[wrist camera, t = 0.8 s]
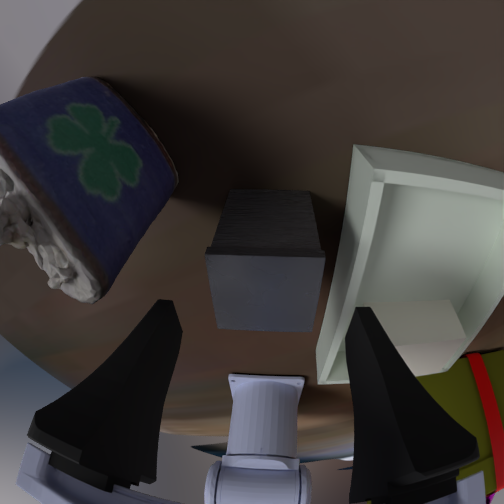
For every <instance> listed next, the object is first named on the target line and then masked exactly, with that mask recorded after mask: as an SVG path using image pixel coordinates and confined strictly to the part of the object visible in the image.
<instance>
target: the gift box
mask: <svg viewBox="0 0 504 504" xmlns="http://www.w3.org/2000/svg"><path fill="white" fill-rule="evenodd" d="M416 378H417V379H418V381H419V382H420V383H421V384H422V386H423V387H424V388H425V389H426V390H427V392H428V393H429V394H430V395H431V396H432V397H433V399H434V400H435V401H436V402H437V403H438V404H439V405H440V406H441V407H442V408H443V409H444V410H445V411H446V412H447V413H448V414H449V415H450V416H451V417H452V418H453V419H454V420H455V421H456V422H458V423H459V424H460V425H461V426H462V427H464V428H465V429H466V430H467V431H469V432H470V433H471V434H472V435H474V436H475V437H476V438H477V442H478V447H479V454H480V457H479V459H478V460H476V461H474V462H472V463H470V464H468V465H465V466H463V467H461V468H459V473H460V474H459V476H457V477H456V481H457V480H461V479H463V478H466V477H468V476H470V475H472V474H475V473H477V472H480V471H483V474H484V483H485V495H486V504H490V503H491V501H492V499H493V497H494V495H495V493H496V492H497V491H499V490H501V489H503V488H504V350H500V351H496V352H491V353H487V354H482V355H480V353H478V352H477V353H471V354H466V355H464V356H463V357H462V358H460V359H457V360H456V362H455V363H454V364H453V365H452V366H451V367H450V369H449V370H448V371H446V372H441V373H435V374H429V375H423V376H416ZM367 504H371V501H367Z"/></svg>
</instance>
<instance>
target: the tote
mask: <svg viewBox="0 0 504 504" xmlns="http://www.w3.org/2000/svg"><path fill="white" fill-rule="evenodd" d="M503 295H504V172H500V171H497V170H493V169H490V168H486V167H482V166H478V165H474V164H470V163H466V162H462V161H457V160H452V159H448V158H443V157H438V156H433V155H427V154H422V153H416V152H410V151H403V150H396V149H389V148H382V147H374V146H365V145H355V144H353V153H352V162H351V170H350V178H349V186H348V193H347V200H346V207H345V214H344V220H343V226H342V232H341V238H340V243H339V249H338V254H337V260H336V265H335V270H334V275H333V280H332V284H331V289H330V294H329V298H328V303H327V307H326V311H325V315H324V320H323V324H322V328H321V332H320V336H319V340H318V344H317V347H316V361H317V379H318V384H342V383H350V382H349V375H348V369H347V363H346V351H345V336H346V333H347V330H348V328H349V325H350V322H351V319H352V316H353V313H354V310H355V307H362V306H363V303H364V302H405V301H431V300H450V301H451V303H452V305H453V308H454V310H455V312H456V314H457V316H458V319H459V321H460V323H461V325H462V328H463V330H464V332H465V335H466V337H467V338H466V339H465V341H464V342H463V343H462V345H461V346H460V347H459V349H458V350H457V351H456V352H455V354H454V355H453V356H452V357H451V359H450V360H449V361H448V362H447V363H446V365H445V366H444V367H443V368H442V369H441V370H440V372H439V373H441V372H446V371H448V370H449V369H450V367H451V366H452V365H453V364H454V363H455V362H456V360H457V359H458V358H459V357H460V356H461V354H462V353H463V352H464V351H465V349H466V348H467V347H468V346H469V344H470V343H471V342H472V340H473V339H474V338H475V336H476V335H477V334H478V332H479V331H480V330H481V328H482V327H483V325H484V324H485V323H486V321H487V320H488V318H489V317H490V315H491V314H492V312H493V311H494V309H495V308H496V306H497V305H498V303H499V301H500V300H501V298H502V297H503ZM433 374H435V373H433ZM427 375H429V374H427ZM420 376H423V375H420ZM415 377H416V376H415Z"/></svg>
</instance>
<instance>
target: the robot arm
mask: <svg viewBox="0 0 504 504" xmlns="http://www.w3.org/2000/svg"><path fill="white" fill-rule="evenodd" d="M182 332H183V331H182V328H181V325H180V322H179V319H178V316H177V313H176V310H175V307H174V304H173V301H172V300H161V299H159V300H157V302H156V303H155V304H154V305H153V306H152V308H151V309H150V310H149V311H148V313H147V314H146V315H145V316H144V318H143V319H142V320H141V321H140V322H139V324H138V325H137V326H136V327H135V328H134V330H133V331H132V332H131V333H130V334H129V336H128V337H127V338H126V339H125V340H124V341H123V342H122V344H121V345H120V346H119V347H118V348H117V349H116V350H115V351H114V352H113V353H112V354H111V355H110V357H109V358H108V359H107V360H106V361H105V362H104V363H103V364H101V365H100V366H99V367H98V368H97V369H96V370H95V371H94V372H93V373H92V374H90V375H89V376H88V377H87V378H86V379H85V380H83V381H82V382H81V383H80V384H78V385H77V386H76V387H74V388H73V389H72V390H70V391H69V392H67V393H66V394H65V395H63V396H62V397H60V398H59V399H57V400H56V401H54V402H52V403H50V404H49V405H47V406H45V407H43V408H42V409H40V410H38V411H36V413H35V415H34V418H33V420H32V423H31V426H30V428H29V431H28V434H27V436H28V437H29V438H30V439H32V440H33V441H35V442H37V443H39V444H40V445H42V446H44V447H46V448H47V449H49V450H51V451H52V452H51V454H48V453H46V452H45V451H43V450H41V449H40V448H38V447H36V446H34V445H32V444H31V443H27V446H26V449H25V452H24V455H23V458H22V462H21V465H20V469H19V473H18V477H17V481H16V485H17V486H18V487H20V488H21V489H23V490H24V491H25V492H27V493H28V494H29V495H31V496H32V497H33V498H35V499H36V500H37V501H39V502H40V503H42V504H183V503H179V502H174V501H170V500H166V499H162V498H158V497H154V496H150V495H147V494H144V493H140V492H137V491H134V490H131V489H130V486H131V484H133V485H136V486H139V482H144V483H148V484H151V483H153V482H155V481H156V469H157V451H158V440H159V432H160V424H161V418H162V412H163V406H164V402H165V398H166V394H167V391H168V387H169V384H170V381H171V377H172V374H173V371H174V368H175V364H176V361H177V358H178V354H179V349H180V344H181V338H182ZM345 351H346V363H347V369H348V375H349V382H350V388H351V394H352V401H353V409H354V458H353V472H352V480H351V487H350V493H349V504H351V503H358V502H365V501H371V504H486V495H485V483H484V474H483V471H480V472H477V473H475V474H472V475H470V476H468V477H466V478H463V479H461V480H457V481H456V477H457V476H459V474H460V473H459V468H461V467H463V466H465V465H468V464H470V463H472V462H474V461H476V460H478V459H479V457H480V454H479V447H478V442H477V438H476V437H475V436H474V435H472V434H471V433H470V432H469V431H467V430H466V429H465V428H464V427H462V426H461V425H460V424H459V423H458V422H456V421H455V420H454V419H453V418H452V417H451V416H450V415H449V414H448V413H447V412H446V411H445V410H444V409H443V408H442V407H441V406H440V405H439V404H438V403H437V402H436V401H435V400H434V399H433V397H432V396H431V395H430V394H429V393H428V392H427V390H426V389H425V388H424V387H423V386H422V384H421V383H420V382H419V381H418V379H417V378H416V377H415V375H414V374H413V373H412V371H411V370H410V368H409V367H408V366H407V364H406V363H405V361H404V360H403V358H402V357H401V355H400V354H399V352H398V351H397V349H396V348H395V346H394V345H393V343H392V342H391V340H390V338H389V337H388V335H387V333H386V332H385V330H384V328H383V327H382V325H381V323H380V322H379V320H378V318H377V317H376V315H375V313H374V312H373V310H372V308H371V307H355V310H354V313H353V316H352V319H351V322H350V325H349V328H348V330H347V333H346V336H345ZM228 379H229V383H230V388H231V392H232V397H233V408H232V416H231V423H230V431H229V439H228V446H227V454H226V455H223V458H222V461H216V462H215V463H214V464H212V465H211V466H210V468H209V471H208V474H207V479H206V484H205V495H204V497H205V498H204V499H205V504H310V503H311V493H312V492H311V491H312V480H311V473H310V470H309V469H307V468H306V466H305V465H299V459H297V408H298V403H299V399H300V396H301V392H302V389H303V385H304V382H305V378H304V377H290V376H258V375H241V374H230V375H229V378H228Z"/></svg>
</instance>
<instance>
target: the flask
mask: <svg viewBox="0 0 504 504" xmlns="http://www.w3.org/2000/svg"><path fill="white" fill-rule="evenodd" d="M178 182H179V181H178V172H177V171H176V170H175V165H174V163H173V161H172V159H171V158H170V156H169V154H168V153H167V152H166V150H165V147H164V145H163V144H162V142H160V141H159V139H158V136H157V135H156V134H155V132H154V131H153V129H152V128H150V127H149V125H148V124H147V122H146V121H145V120H144V119H143V118H141V117H140V116H139V115H138V114H137V112H136V111H135V109H133V108H132V106H130V104H129V103H128V102H127V101H126V100H125V98H122V96H120V94H119V93H118V92H117V91H116V90H115V89H113V87H111V85H110V84H108V83H106V82H105V81H103V80H101V79H100V78H96V77H82V78H80V79H76V80H72V81H69V82H66V83H62V84H59V85H56V86H53V87H49V88H45V89H41V90H37V91H34V92H32V93H29V94H26V95H24V96H21V97H18V98H16V99H13V100H11V101H8V102H6V103H3V104H1V105H0V246H1V245H2V244H11V245H13V246H14V247H15V248H19V249H24V248H26V247H27V248H28V250H29V252H30V253H32V254H33V255H34V258H35V261H36V262H37V264H38V265H39V267H40V268H41V270H42V269H44V270H45V271H46V272H47V274H48V276H49V278H50V279H49V281H48V285H49V286H50V287H51V288H54V289H57V288H60V289H62V290H63V292H64V293H66V294H67V295H69V296H70V297H72V298H74V299H77V300H79V301H80V302H83V303H90V304H94V303H95V302H97V301H98V300H99V299H101V298H102V297H104V296H105V295H106V293H107V292H108V291H109V289H110V288H111V286H112V284H113V283H114V281H115V278H116V277H117V275H118V274H119V272H120V271H121V269H122V267H123V266H124V264H125V263H126V261H127V260H128V258H129V256H130V255H131V254H132V252H133V250H134V249H135V247H136V245H137V244H138V242H139V241H140V239H141V238H142V237H143V236H144V234H145V232H146V231H147V229H148V228H149V226H150V225H151V223H152V222H153V221H154V220H155V218H156V217H157V215H158V214H159V213H160V212H161V210H162V209H163V207H164V206H165V204H166V203H167V201H168V200H169V198H170V196H171V194H172V193H173V191H174V189H175V188H176V186H177V184H178Z"/></svg>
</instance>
